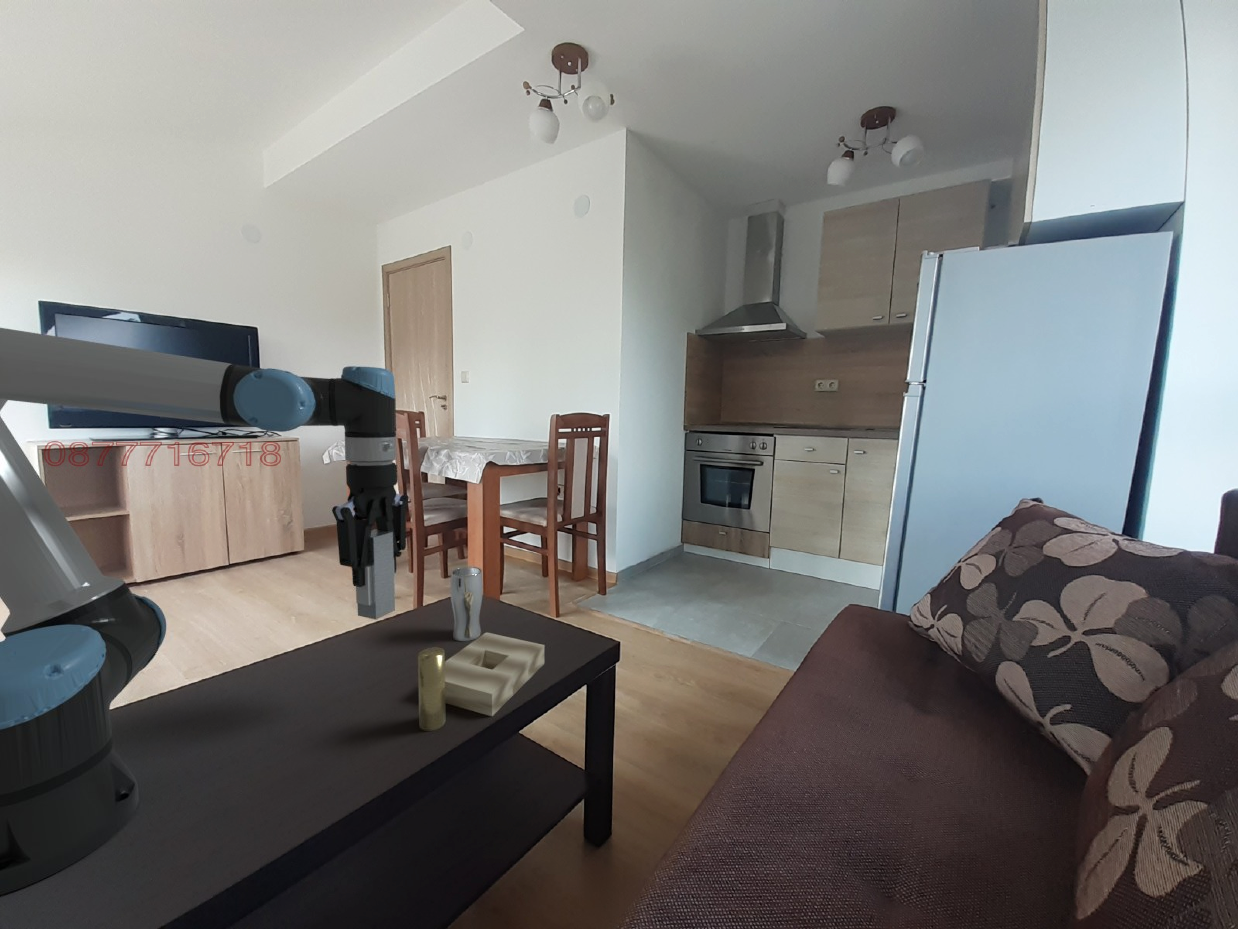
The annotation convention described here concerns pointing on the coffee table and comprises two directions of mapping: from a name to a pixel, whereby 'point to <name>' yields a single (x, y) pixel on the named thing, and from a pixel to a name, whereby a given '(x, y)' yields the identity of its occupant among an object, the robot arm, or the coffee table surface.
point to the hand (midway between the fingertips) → (376, 598)
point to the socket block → (490, 672)
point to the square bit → (380, 576)
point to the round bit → (431, 688)
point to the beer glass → (466, 602)
